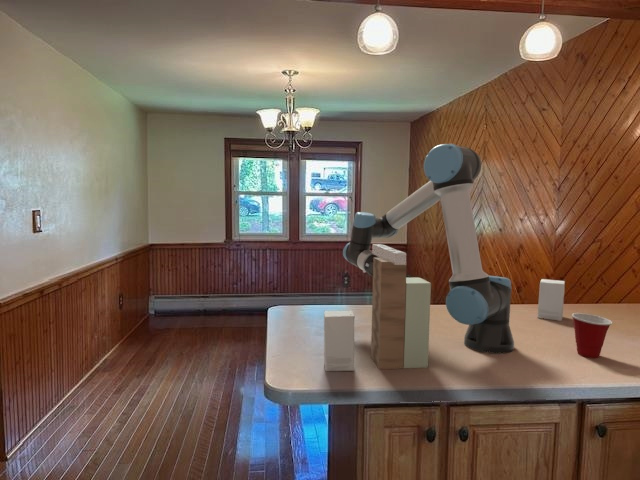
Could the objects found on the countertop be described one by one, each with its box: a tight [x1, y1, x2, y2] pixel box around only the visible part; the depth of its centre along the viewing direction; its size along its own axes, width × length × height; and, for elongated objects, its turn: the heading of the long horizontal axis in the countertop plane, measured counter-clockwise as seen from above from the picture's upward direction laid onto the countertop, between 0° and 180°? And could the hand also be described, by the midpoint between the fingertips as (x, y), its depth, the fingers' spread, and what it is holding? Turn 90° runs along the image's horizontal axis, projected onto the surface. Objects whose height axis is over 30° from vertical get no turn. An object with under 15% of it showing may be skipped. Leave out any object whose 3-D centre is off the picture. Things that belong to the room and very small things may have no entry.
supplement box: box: [537, 278, 566, 322], centre depth 183 cm, size 9×9×15 cm
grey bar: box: [371, 243, 407, 265], centre depth 129 cm, size 24×3×3 cm, turn 8°
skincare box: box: [323, 310, 355, 372], centre depth 125 cm, size 8×7×16 cm
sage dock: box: [402, 277, 432, 369], centre depth 129 cm, size 9×7×24 cm
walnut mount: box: [370, 258, 408, 370], centre depth 128 cm, size 9×7×30 cm
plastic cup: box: [571, 312, 613, 359], centre depth 138 cm, size 11×11×12 cm
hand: (411, 285), depth 136 cm, fingers open, 12 cm apart
